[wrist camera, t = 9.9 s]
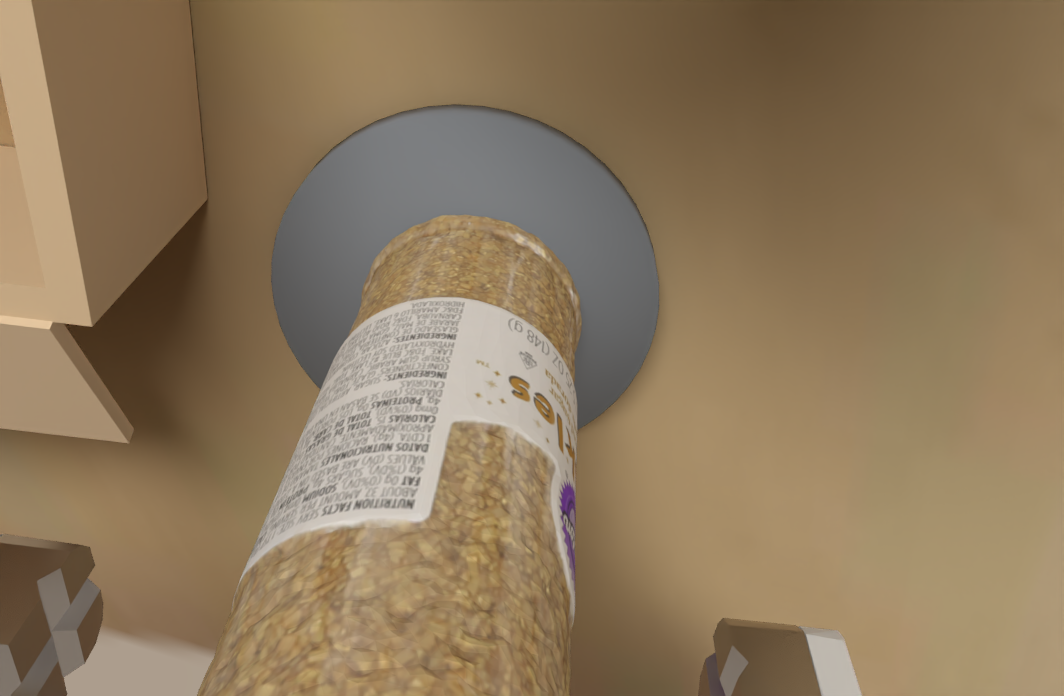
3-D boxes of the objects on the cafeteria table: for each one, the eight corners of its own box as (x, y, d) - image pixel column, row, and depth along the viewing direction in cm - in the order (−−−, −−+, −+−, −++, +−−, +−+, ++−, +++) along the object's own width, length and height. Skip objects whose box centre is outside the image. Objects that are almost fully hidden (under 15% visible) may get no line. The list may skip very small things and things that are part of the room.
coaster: (693, 132, 16) (697, 143, 16) (622, 457, 21) (622, 473, 20) (270, 79, 16) (260, 88, 16) (286, 417, 21) (279, 433, 20)
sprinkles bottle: (609, 363, 19) (661, 1250, 7) (414, 416, 20) (199, 1269, 8) (537, 171, 16) (456, 1030, 5) (322, 242, 17) (-146, 1091, 6)
